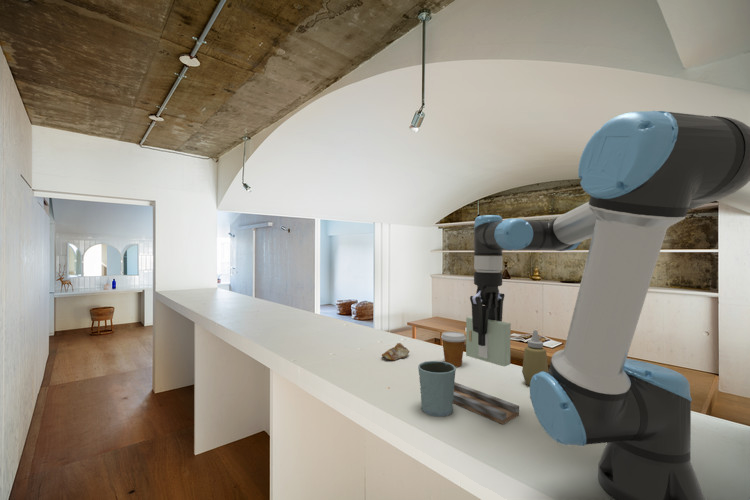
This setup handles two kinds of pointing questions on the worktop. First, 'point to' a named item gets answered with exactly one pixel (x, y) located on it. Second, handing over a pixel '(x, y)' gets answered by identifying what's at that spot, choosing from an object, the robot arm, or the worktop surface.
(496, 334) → the door panel
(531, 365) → the squeeze bottle
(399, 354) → the decorative stone
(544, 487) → the worktop surface
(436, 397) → the teal cup
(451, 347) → the disposable coffee cup
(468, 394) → the track base
